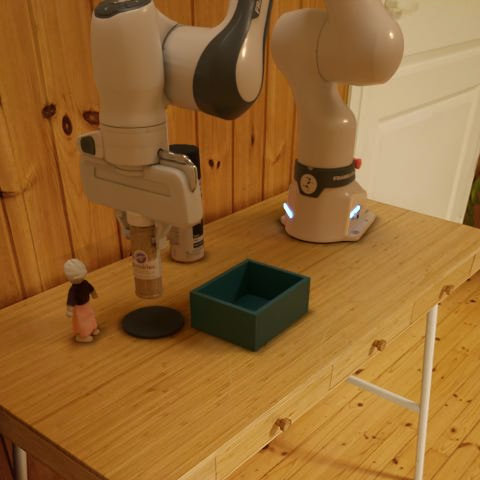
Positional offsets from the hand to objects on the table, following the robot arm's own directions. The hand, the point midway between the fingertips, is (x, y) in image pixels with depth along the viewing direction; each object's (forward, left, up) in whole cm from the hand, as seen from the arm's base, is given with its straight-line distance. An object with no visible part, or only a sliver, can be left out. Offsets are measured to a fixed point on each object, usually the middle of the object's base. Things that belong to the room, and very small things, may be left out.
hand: (145, 243), depth 90 cm
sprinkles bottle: (0, 0, -8) cm, 8 cm away
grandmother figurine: (+9, -6, -14) cm, 18 cm away
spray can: (-24, -13, -14) cm, 30 cm away
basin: (-11, +12, -13) cm, 21 cm away
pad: (0, 0, -14) cm, 14 cm away
